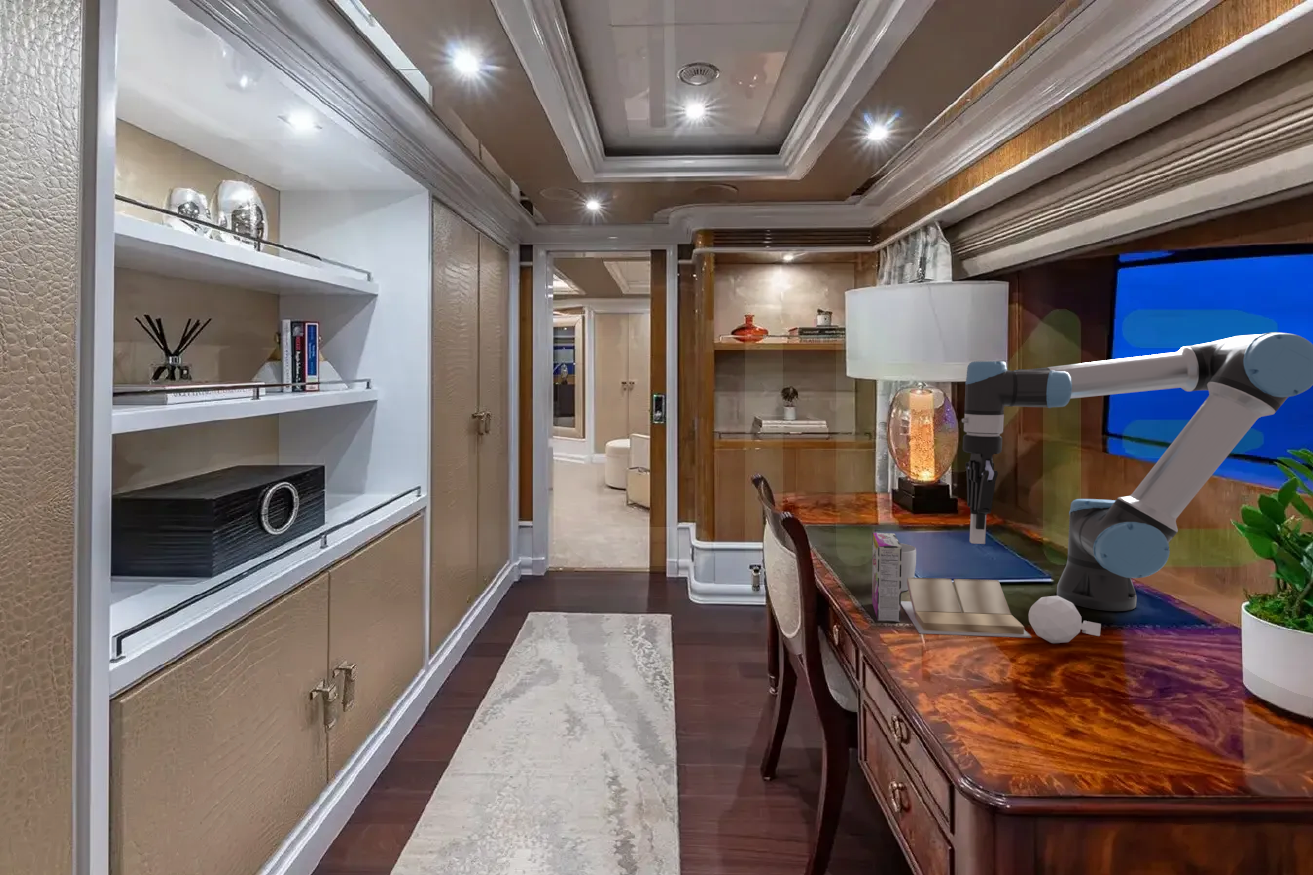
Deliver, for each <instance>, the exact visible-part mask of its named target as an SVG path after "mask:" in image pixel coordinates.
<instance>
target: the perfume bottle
mask: <svg viewBox="0 0 1313 875" xmlns="http://www.w3.org/2000/svg"><path fill="white" fill-rule="evenodd" d="M1028 622H1029V624H1030V625H1031V628H1032V629H1033V631H1034V632H1035V635H1036V636H1037V637H1040V639H1041V638H1042V639H1043V640H1045V641H1047V642H1049V643H1051V644H1060V643H1069V642H1071V640H1073V639H1074V638H1075V637H1076V636H1077V635H1079V634H1080V633H1083V634H1088V635H1092V636H1097V637H1100V636H1101V628H1102V627H1101V626H1102V623H1098V622H1093V621H1089V620H1088V621H1087V620H1083V622H1082V616H1081V614H1080V612H1079V610H1078V609H1077V607H1076V605H1074V604H1073V603H1072V602H1070V601H1068V600H1066V599H1064V598H1061V597H1059V596H1057V595H1051V596H1050V595H1049V596H1042V597H1040V598H1038V600H1036V601H1035V602H1034V603H1033V604H1032V605H1031V606H1030V608H1029V611H1028ZM1081 630H1082V631H1081Z"/></svg>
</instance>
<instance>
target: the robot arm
mask: <svg viewBox="0 0 1313 875" xmlns="http://www.w3.org/2000/svg"><path fill="white" fill-rule="evenodd" d="M966 369H967V370H966V377H965V383H964V384H965V392H964V394H965V396H964V418H961V423H963V432H964V433H966V434H964V435H963V436H962V450H963V452H965V453H966V454H968V453H969V454H970V456H969V457H970V458H969V459H970V460H968V462H965V464H964V465H965V471H966V494H967V495H966V496H967V497H966V500H967V503H966V504H967V507H968V508H969V510H970V511H969V512H970V524H969V543H971V544H975V545H977V544H979V545H980V544H981V545H985V544H986V532H987V529H986V528H987V515H988V514H992V507H993V500H994V494H995V487H996V480H997V478H998V474H999V472H998V470H994V469H995V463H994V461H993V455H999V454H1001V453H1002V450H1003V448H1002V447H1003V437H1002V434H1003V433H1004V420H1005V413H1004V412H1005V411H1004V410H1005V407H1012V408H1013V407H1024V408H1026V407H1027V408H1048V409H1052V408H1064V407H1066V406H1067V405H1068V404H1069V402H1070V400H1071V399H1080V398H1089V397H1098V396H1109V395H1110V396H1111V395H1118V394H1119V395H1120V394H1130V393H1139V392H1141V393H1142V392H1148V391H1149V392H1150V391H1159V390H1171V389H1179V388H1181V389H1182V390H1184V391H1185V392H1196V391H1197V392H1198V391H1199V392H1200V391H1208V394H1209V395H1208V396H1207V397H1206V399H1205V400H1204V402H1203V403H1202V404H1201V405H1200V406H1199V408H1198V409H1197V410H1196V412H1195V413H1194V414H1193V416H1192V417H1191V419H1189V421H1188V422H1187V423H1186V425H1185V426H1184V427H1183V428H1182V430H1181V431H1180V432H1179V433H1178V435H1177V436H1176V438H1174V439H1173V441H1172V443H1171V444H1170V445H1169V446H1168V448H1167V449H1166V450H1165V451H1164V453H1163V454H1162V455H1161V456H1160V458H1159V459H1158V460H1157V462H1156V463H1155V464H1154V465H1153V467H1152V468H1151V469H1150V470H1149V472H1148V473H1147V474H1146V476H1145V477H1144V478H1143V479H1142V480H1141V481H1140V483H1138V486H1137V487H1136V488H1135V489H1134V491H1132V493H1131V494H1130V495H1126V496H1118V497H1117V499H1115V500H1114V499H1113V500H1112V499H1100V498H1099V499H1096V498H1076V499H1073V500H1072V501H1071V502H1070V508H1069V509H1070V510H1069V511H1068V515H1069V523H1068V524H1069V525H1068V540H1067V541H1068V543H1067V561H1066V565H1065V567H1064V569H1063V572H1062V573H1061V576H1060V578H1059V580H1058V583H1057V584H1056V585H1057V586H1056V596H1059V597H1061V598H1064V599H1066V600H1068V601H1070V602H1072V603H1073V604H1074V606H1079V607H1082V608H1087V609H1092V610H1098V611H1106V612H1126V611H1132V610H1133V609H1135V608H1137V599H1138V598H1137V593H1136V590H1135V587H1134V584H1133V580H1132V579H1140V578H1147V577H1150V576H1152V575H1154V574H1156V573H1157V572H1159V571H1160V570H1161V569H1163V567H1164V566H1165V565H1166V564H1167V562H1168V560H1169V557H1170V554H1171V553H1170V550H1171V549H1170V544H1169V543H1170V542H1171V541H1172V540H1173V538H1174V537H1175V536H1176V535H1177V533H1178V531H1179V530H1178V526H1177V522H1176V521H1177V519H1178V518H1179V516H1180V515H1181V514H1182V513H1183V511H1184V510H1185V509H1186V508H1187V507H1188V505H1189V504H1190V503H1191V502H1192V500H1193V499H1194V498H1195V496H1196V495H1197V494H1198V493H1199V492H1200V490H1201V489H1202V488H1203V487H1204V486H1205V484H1206V483H1207V482H1208V481H1209V479H1210V478H1211V477H1212V476H1213V474H1214V473H1215V472H1216V470H1218V468H1219V467H1220V466H1221V464H1223V462H1224V461H1225V460H1226V459H1227V457H1228V456H1229V455H1230V454H1231V452H1233V449H1234V448H1236V446H1237V445H1238V444H1239V443H1240V441H1241V440H1242V439H1243V438H1244V436H1245V435H1246V434H1247V432H1249V431H1250V429H1251V427H1253V425H1254V424H1255V423H1256V421H1257V420H1258V419H1259V418H1261V417H1262V418H1263V417H1267V416H1272V415H1275V413H1276V412H1277V411H1278V410H1279V409H1280V407H1281V406H1282V405H1283V404H1284V403H1285V401H1286V400H1287V399H1288V398H1290V397H1294V396H1297V395H1300V394H1302V393H1304V392H1306V391H1308V390H1309V389H1311V387H1312V386H1313V343H1312V342H1311V341H1310V340H1308V339H1307V338H1305V337H1302V336H1301V335H1298V334H1294V333H1287V332H1279V331H1273V332H1272V331H1271V332H1265V333H1262V334H1243V335H1242V334H1241V335H1235V336H1232V337H1227V338H1223V339H1218V340H1214V341H1211V342H1205V343H1200V344H1194V345H1186V346H1182V347H1180V349H1179V350H1177V351H1175V352H1165V353H1158V354H1157V353H1156V354H1151V355H1150V354H1149V355H1142V356H1141V355H1139V356H1133V357H1132V356H1131V357H1124V358H1115V359H1107V360H1106V359H1105V360H1097V361H1091V362H1090V361H1089V362H1082V363H1081V362H1079V363H1071V364H1064V365H1055V366H1048V367H1040V368H1039V367H1038V368H1029V369H1023V368H1022V369H1015V370H1008V368H1007V363H1006V362H1005V361H1002V360H999V361H993V360H991V361H990V360H988V361H986V360H985V361H984V360H983V361H982V360H981V361H980V360H978V361H977V360H976V361H971V362H970V363H968V365H967V368H966Z"/></svg>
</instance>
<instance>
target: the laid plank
mask: <svg viewBox="0 0 1313 875" xmlns="http://www.w3.org/2000/svg"><path fill="white" fill-rule="evenodd" d="M915 618H916V620H917V621H918V623H919V624H920V626H921V627H922V629H923V630H932V631H958V632H985V633H1011V634H1024V630H1025V626H1024V625H1023V624H1022V623H1021V622H1020V621H1019V620H1018V619H1017V618H1016V617H1014V616H1013V615H1012V614H1011V615H1004V614H975V613H946V612H917V611H916V615H915Z"/></svg>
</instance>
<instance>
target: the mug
mask: <svg viewBox="0 0 1313 875" xmlns="http://www.w3.org/2000/svg"><path fill="white" fill-rule="evenodd" d="M899 543H900V542H899ZM900 545H901V547H902V554H901V593H903V592H907V591H909V590H908V586H907V578H915V575H916V574H915V573H916V566H917V548H916V547H915V546H914V545H910V544H907V543H900Z"/></svg>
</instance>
